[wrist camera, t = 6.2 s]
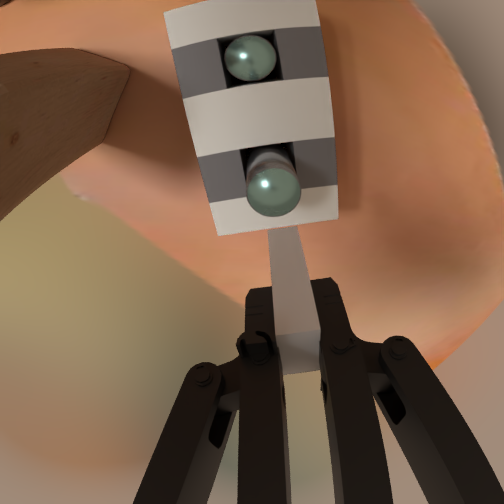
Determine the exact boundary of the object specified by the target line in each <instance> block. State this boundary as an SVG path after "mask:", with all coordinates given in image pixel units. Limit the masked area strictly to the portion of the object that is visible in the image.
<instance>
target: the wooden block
mask: <svg viewBox="0 0 504 504" xmlns="http://www.w3.org/2000/svg"><path fill="white" fill-rule="evenodd" d="M129 75H130V70H129V68H128V67H127V66H126V65H123V64H121V63H118V62H115V61H112V60H109V59H106V58H103V57H100V56H97V55H94V54H91V53H88V52H84V51H81V50H78V49H74V48H55V49H40V50H29V51H21V52H13V53H6V54H0V221H1V220H2V219H3V218H4V217H5V216H6V215H8V213H10V212H11V211H12V210H13V209H14V208H15V207H16V206H18V205H19V204H20V203H21V202H22V201H23V200H24V199H26V198H27V197H28V196H29V195H30V194H32V193H33V192H34V191H35V190H36V189H38V188H39V187H40V186H41V185H42V184H44V183H45V182H46V181H48V180H49V179H50V178H52V177H53V176H54V175H55V174H57V173H58V172H60V171H61V170H62V169H64V168H65V167H67V166H68V165H69V164H71V163H72V162H74V161H75V160H76V159H78V158H79V157H81V156H82V155H84V154H85V153H87V152H88V151H90V150H91V149H93V148H95V147H96V146H98V145H99V144H100V143H101V142H102V141H103V140H104V137H105V134H106V131H107V129H108V126H109V123H110V121H111V118H112V115H113V113H114V110H115V108H116V105H117V103H118V100H119V98H120V96H121V93H122V91H123V89H124V86H125V84H126V82H127V80H128V78H129Z"/></svg>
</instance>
